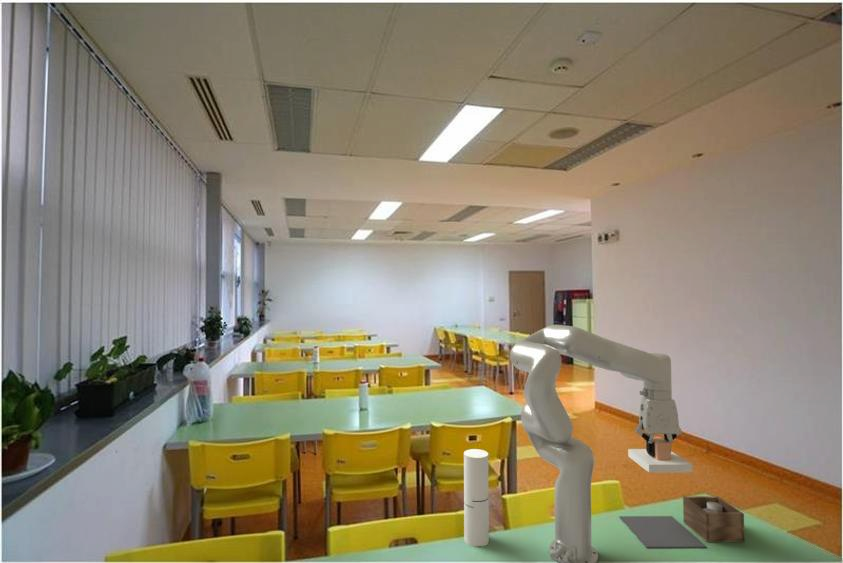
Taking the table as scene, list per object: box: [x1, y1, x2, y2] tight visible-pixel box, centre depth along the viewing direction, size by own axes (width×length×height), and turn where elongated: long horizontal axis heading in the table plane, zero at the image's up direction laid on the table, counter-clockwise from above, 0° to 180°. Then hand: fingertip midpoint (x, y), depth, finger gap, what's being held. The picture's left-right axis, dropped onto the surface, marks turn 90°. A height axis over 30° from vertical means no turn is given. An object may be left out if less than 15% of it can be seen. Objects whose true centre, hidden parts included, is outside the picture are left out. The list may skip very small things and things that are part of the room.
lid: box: [627, 436, 693, 474], centre depth 133 cm, size 13×13×7 cm
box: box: [682, 495, 745, 543], centre depth 132 cm, size 11×11×8 cm
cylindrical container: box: [463, 448, 490, 547], centre depth 128 cm, size 7×7×25 cm
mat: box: [618, 515, 707, 549], centre depth 132 cm, size 17×17×1 cm
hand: (658, 454), depth 133 cm, fingers closed on lid, 4 cm apart
